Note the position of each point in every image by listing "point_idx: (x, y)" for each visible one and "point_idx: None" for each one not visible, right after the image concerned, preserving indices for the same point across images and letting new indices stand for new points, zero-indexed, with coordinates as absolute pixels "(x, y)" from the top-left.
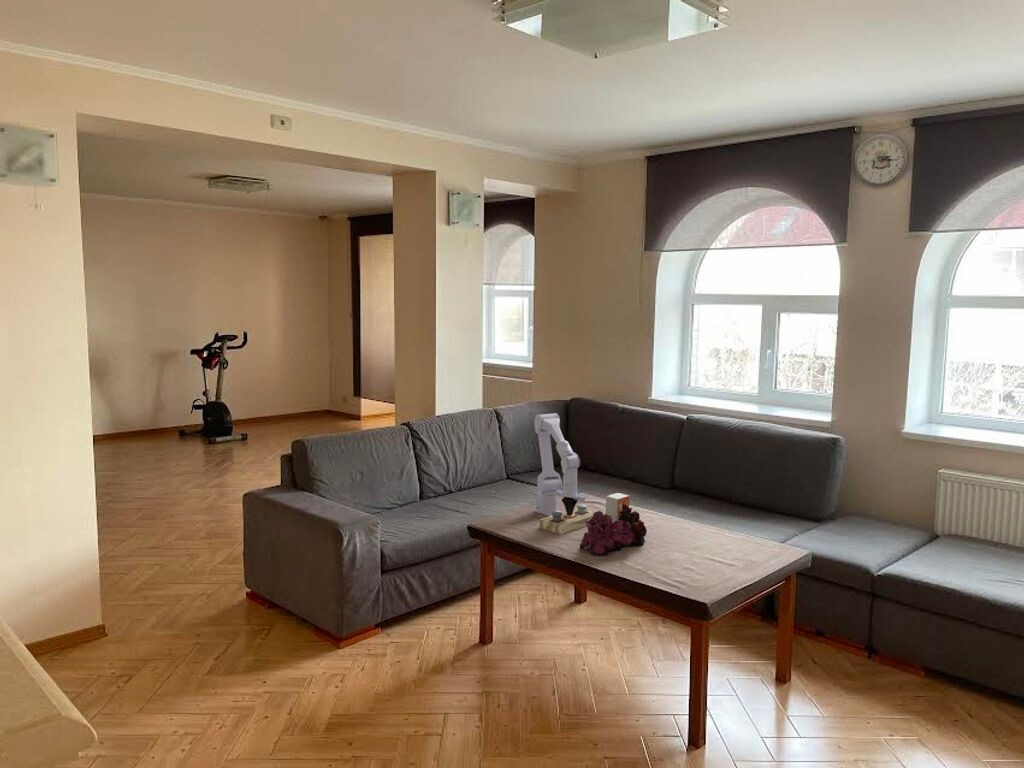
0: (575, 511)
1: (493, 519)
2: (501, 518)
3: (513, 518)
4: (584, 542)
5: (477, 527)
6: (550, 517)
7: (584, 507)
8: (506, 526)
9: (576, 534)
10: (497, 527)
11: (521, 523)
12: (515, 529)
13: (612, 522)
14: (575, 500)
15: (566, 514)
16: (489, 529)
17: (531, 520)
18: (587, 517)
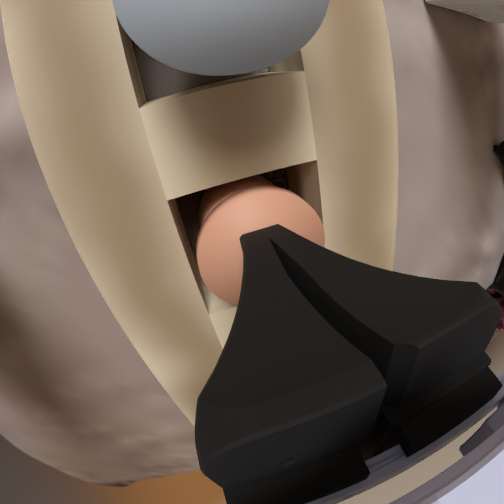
0: (116, 63)
1: (29, 450)
2: (16, 434)
3: (15, 412)
4: (500, 328)
5: (109, 485)
6: (192, 386)
7: (325, 6)
8: (120, 454)
9: (406, 267)
10: (123, 467)
11: (92, 420)
12: (169, 447)
13: (497, 17)
14: (470, 363)
15: (236, 282)
16: (138, 478)
17: (49, 377)
18: (394, 93)
